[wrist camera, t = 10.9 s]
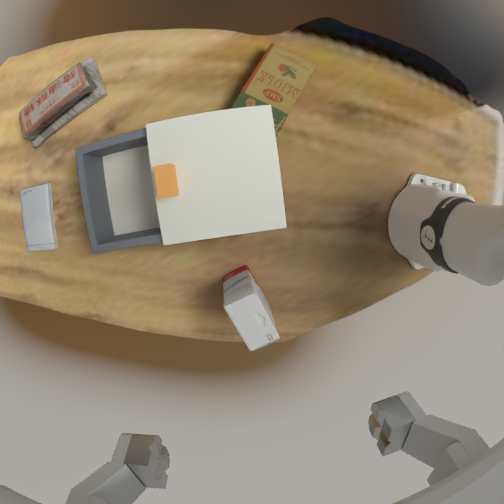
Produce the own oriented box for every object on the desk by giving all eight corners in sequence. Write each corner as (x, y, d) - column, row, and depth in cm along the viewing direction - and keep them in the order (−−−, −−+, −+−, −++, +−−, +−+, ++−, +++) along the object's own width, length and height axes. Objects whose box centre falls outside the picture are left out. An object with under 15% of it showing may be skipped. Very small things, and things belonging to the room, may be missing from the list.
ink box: (221, 276, 48) (219, 305, 37) (248, 262, 48) (254, 289, 37) (245, 316, 50) (249, 354, 39) (270, 304, 50) (281, 339, 39)
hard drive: (19, 190, 40) (26, 252, 43) (47, 183, 41) (55, 249, 44) (24, 189, 42) (31, 250, 45) (52, 182, 42) (59, 247, 45)
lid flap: (270, 106, 34) (274, 97, 30) (285, 226, 39) (292, 232, 34) (147, 125, 34) (137, 119, 30) (165, 244, 38) (157, 252, 34)
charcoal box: (186, 130, 42) (177, 121, 34) (200, 227, 46) (194, 237, 38) (98, 151, 41) (75, 148, 34) (112, 242, 45) (92, 254, 38)
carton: (311, 73, 41) (318, 65, 37) (268, 149, 44) (272, 146, 40) (268, 51, 39) (271, 41, 35) (222, 126, 42) (222, 121, 38)
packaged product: (23, 148, 35) (13, 107, 33) (37, 149, 40) (26, 111, 38) (98, 88, 35) (84, 48, 32) (109, 95, 39) (95, 57, 37)
